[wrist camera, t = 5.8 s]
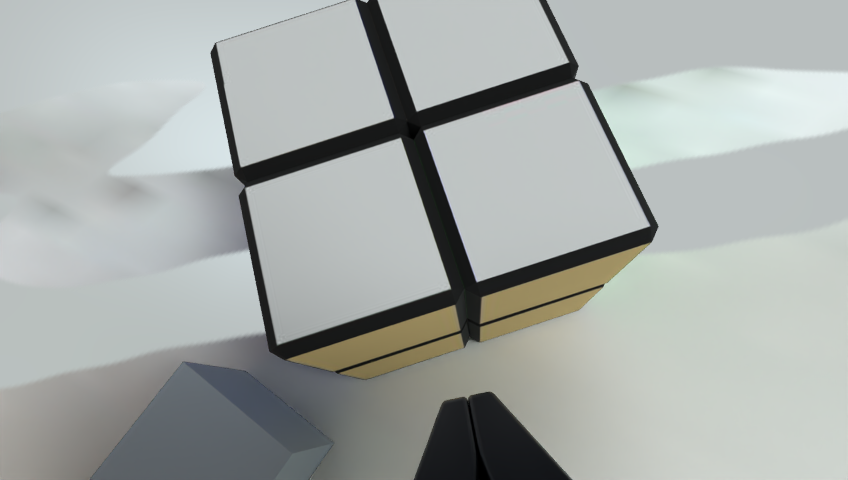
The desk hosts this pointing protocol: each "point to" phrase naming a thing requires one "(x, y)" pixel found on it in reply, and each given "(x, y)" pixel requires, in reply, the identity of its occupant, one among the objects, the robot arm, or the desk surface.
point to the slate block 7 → (216, 433)
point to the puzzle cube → (421, 178)
